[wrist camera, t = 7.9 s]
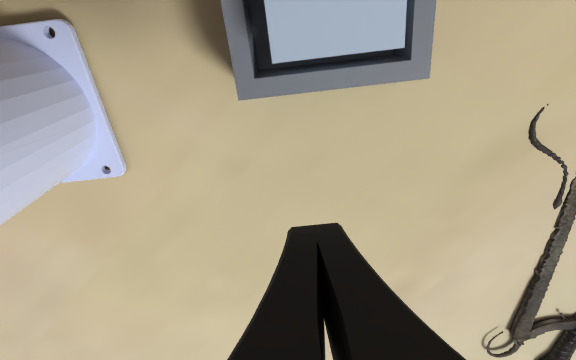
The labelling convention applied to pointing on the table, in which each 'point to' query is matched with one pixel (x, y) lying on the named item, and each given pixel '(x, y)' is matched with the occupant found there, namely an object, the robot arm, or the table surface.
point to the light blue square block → (333, 27)
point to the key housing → (328, 70)
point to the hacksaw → (547, 276)
